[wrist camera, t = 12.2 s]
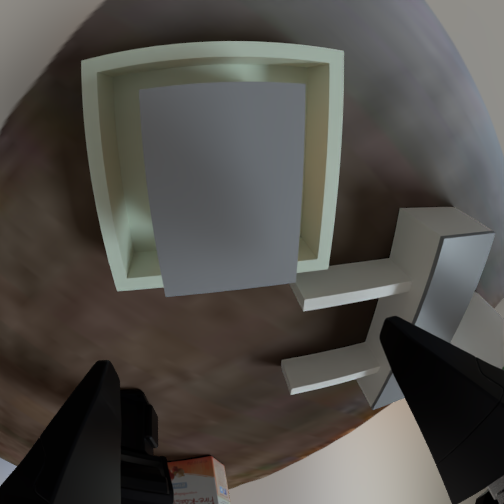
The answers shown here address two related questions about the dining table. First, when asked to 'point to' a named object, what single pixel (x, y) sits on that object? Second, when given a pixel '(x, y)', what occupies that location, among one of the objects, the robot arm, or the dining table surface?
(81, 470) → the robot arm
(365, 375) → the grey forked piece
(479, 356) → the cylindrical container
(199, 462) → the cracker box
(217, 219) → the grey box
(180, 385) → the dining table surface
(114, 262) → the tray
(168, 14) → the dining table surface
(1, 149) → the dining table surface
